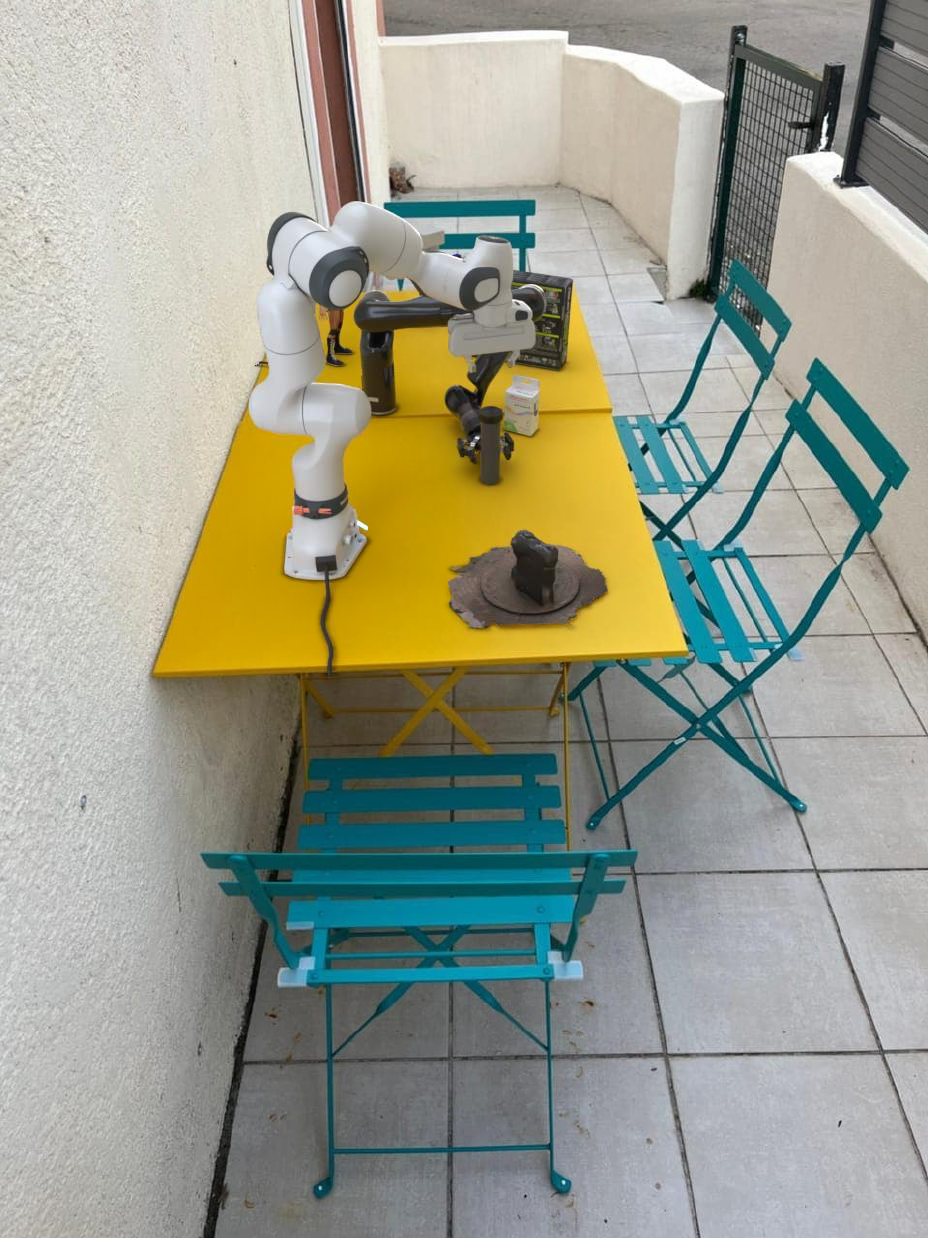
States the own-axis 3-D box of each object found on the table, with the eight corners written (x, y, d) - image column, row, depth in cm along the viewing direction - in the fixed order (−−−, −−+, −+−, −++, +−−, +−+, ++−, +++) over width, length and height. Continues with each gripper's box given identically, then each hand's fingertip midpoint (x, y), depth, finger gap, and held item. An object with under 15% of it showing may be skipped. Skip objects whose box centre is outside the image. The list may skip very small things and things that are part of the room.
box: (567, 361, 281) (574, 276, 264) (561, 371, 276) (566, 284, 258) (470, 346, 291) (469, 262, 273) (461, 355, 285) (460, 270, 268)
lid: (478, 413, 218) (478, 406, 217) (501, 412, 218) (501, 405, 217) (479, 424, 214) (479, 417, 212) (503, 423, 214) (503, 416, 213)
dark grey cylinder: (479, 475, 229) (480, 408, 217) (498, 474, 229) (500, 407, 217) (481, 485, 225) (481, 417, 213) (500, 484, 225) (501, 417, 213)
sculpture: (594, 649, 177) (601, 586, 167) (427, 621, 184) (424, 559, 174) (615, 555, 202) (623, 495, 191) (467, 533, 209) (467, 474, 198)
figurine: (337, 375, 275) (327, 277, 255) (318, 373, 276) (306, 275, 256) (359, 343, 293) (351, 250, 273) (341, 342, 294) (332, 248, 274)
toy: (460, 304, 319) (459, 216, 299) (477, 312, 313) (477, 222, 294) (381, 329, 302) (375, 237, 283) (398, 337, 296) (393, 244, 277)
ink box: (503, 429, 247) (504, 380, 238) (510, 422, 250) (512, 373, 241) (531, 436, 244) (533, 386, 234) (538, 429, 247) (541, 379, 238)
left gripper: (451, 321, 194) (451, 380, 203) (539, 311, 198) (536, 369, 207) (444, 310, 199) (445, 368, 208) (530, 301, 203) (528, 358, 212)
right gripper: (450, 418, 230) (464, 449, 218) (503, 412, 233) (520, 442, 221) (450, 444, 235) (464, 475, 223) (502, 438, 238) (518, 468, 226)
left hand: (491, 369), depth 208 cm, fingers open, 8 cm apart
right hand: (492, 458), depth 222 cm, fingers open, 8 cm apart
